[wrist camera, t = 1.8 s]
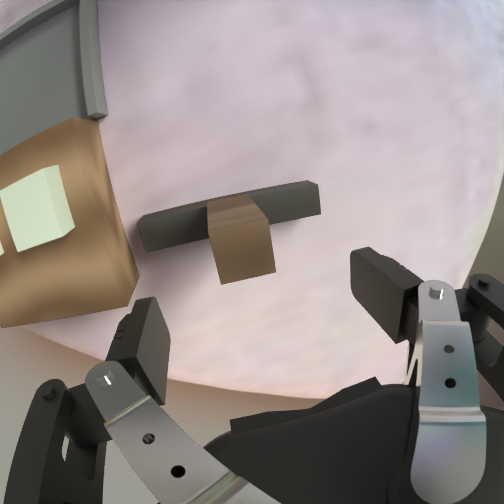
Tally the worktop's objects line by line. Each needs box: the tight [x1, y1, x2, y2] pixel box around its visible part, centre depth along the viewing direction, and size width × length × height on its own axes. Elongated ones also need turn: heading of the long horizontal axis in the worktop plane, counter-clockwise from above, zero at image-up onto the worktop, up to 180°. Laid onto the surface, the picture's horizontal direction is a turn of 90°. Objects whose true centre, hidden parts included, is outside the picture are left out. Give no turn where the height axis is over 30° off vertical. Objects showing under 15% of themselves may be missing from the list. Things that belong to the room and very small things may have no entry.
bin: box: [0, 0, 108, 155], centre depth 14 cm, size 13×18×2 cm
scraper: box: [137, 180, 321, 285], centre depth 19 cm, size 3×14×10 cm, turn 100°
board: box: [0, 117, 140, 328], centre depth 18 cm, size 14×16×5 cm
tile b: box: [0, 165, 75, 252], centre depth 14 cm, size 4×4×2 cm
